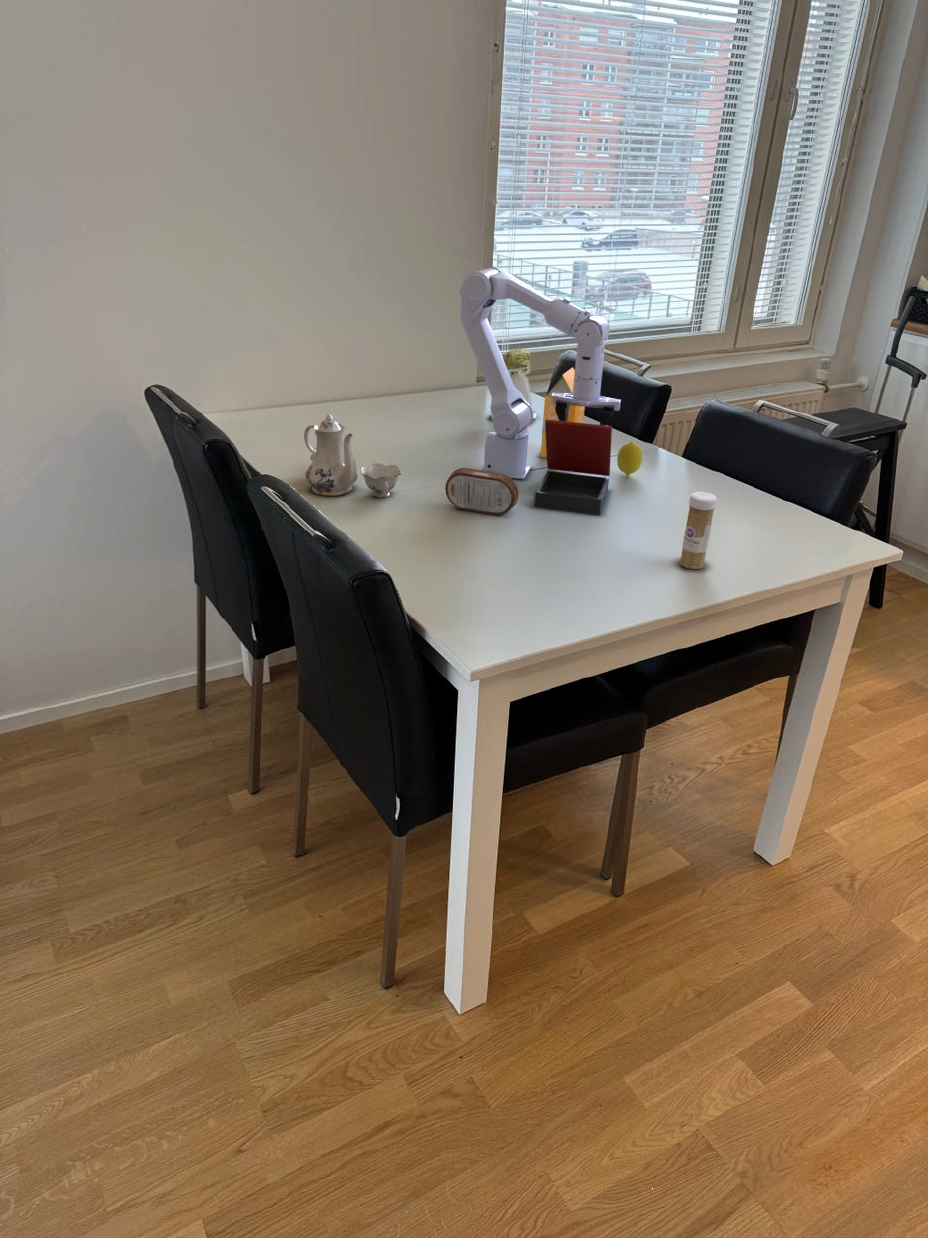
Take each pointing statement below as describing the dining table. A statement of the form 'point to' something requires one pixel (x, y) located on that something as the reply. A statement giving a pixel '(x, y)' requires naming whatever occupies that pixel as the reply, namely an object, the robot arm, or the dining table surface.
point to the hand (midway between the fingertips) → (581, 439)
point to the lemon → (629, 458)
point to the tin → (481, 491)
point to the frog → (519, 372)
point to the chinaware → (342, 464)
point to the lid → (578, 447)
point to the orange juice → (549, 409)
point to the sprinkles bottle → (697, 530)
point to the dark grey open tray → (572, 492)
